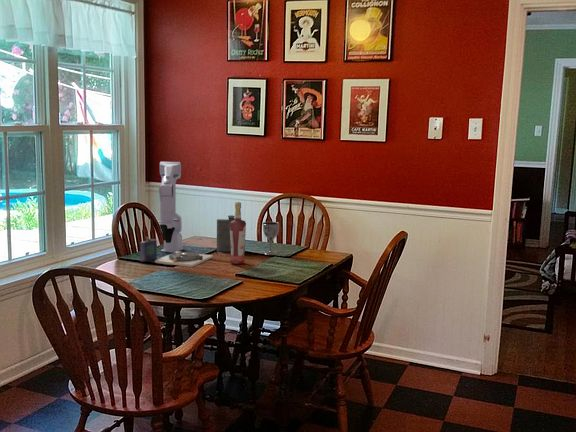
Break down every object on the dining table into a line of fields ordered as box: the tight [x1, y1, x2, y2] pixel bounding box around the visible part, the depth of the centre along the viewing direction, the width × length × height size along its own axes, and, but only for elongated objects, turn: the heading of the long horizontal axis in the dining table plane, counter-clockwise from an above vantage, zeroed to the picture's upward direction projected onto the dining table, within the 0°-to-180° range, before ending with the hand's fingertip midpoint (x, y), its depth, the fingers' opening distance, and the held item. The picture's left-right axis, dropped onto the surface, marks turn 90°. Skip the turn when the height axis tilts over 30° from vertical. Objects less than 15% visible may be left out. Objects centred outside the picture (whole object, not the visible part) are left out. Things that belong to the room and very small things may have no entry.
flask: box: [216, 214, 246, 254], centre depth 299 cm, size 4×14×18 cm, turn 79°
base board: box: [154, 252, 214, 268], centre depth 281 cm, size 20×19×3 cm
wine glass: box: [262, 221, 280, 256], centre depth 298 cm, size 8×8×15 cm
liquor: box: [229, 201, 247, 266], centre depth 275 cm, size 7×7×28 cm
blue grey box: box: [139, 236, 158, 263], centre depth 279 cm, size 9×3×11 cm, turn 146°
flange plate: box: [168, 250, 200, 262], centre depth 280 cm, size 16×14×4 cm
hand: (167, 241), depth 271 cm, fingers open, 5 cm apart
